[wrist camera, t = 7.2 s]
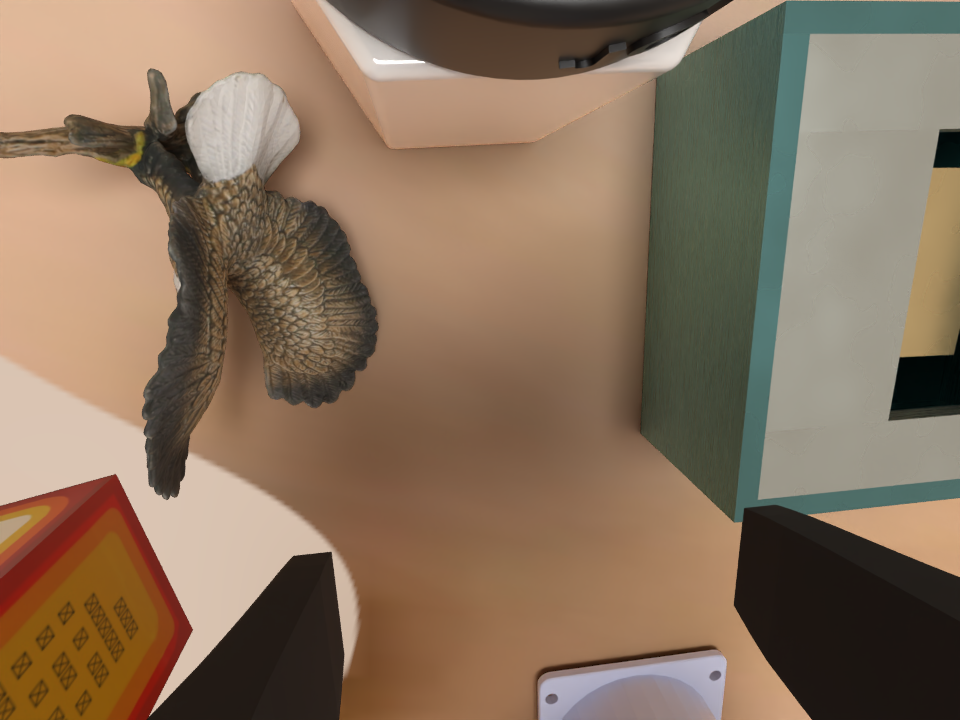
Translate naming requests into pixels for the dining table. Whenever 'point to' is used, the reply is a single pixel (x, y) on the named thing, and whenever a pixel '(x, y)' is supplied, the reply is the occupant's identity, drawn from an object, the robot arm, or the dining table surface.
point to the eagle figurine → (230, 253)
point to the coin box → (802, 259)
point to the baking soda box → (83, 608)
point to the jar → (496, 61)
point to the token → (936, 272)
